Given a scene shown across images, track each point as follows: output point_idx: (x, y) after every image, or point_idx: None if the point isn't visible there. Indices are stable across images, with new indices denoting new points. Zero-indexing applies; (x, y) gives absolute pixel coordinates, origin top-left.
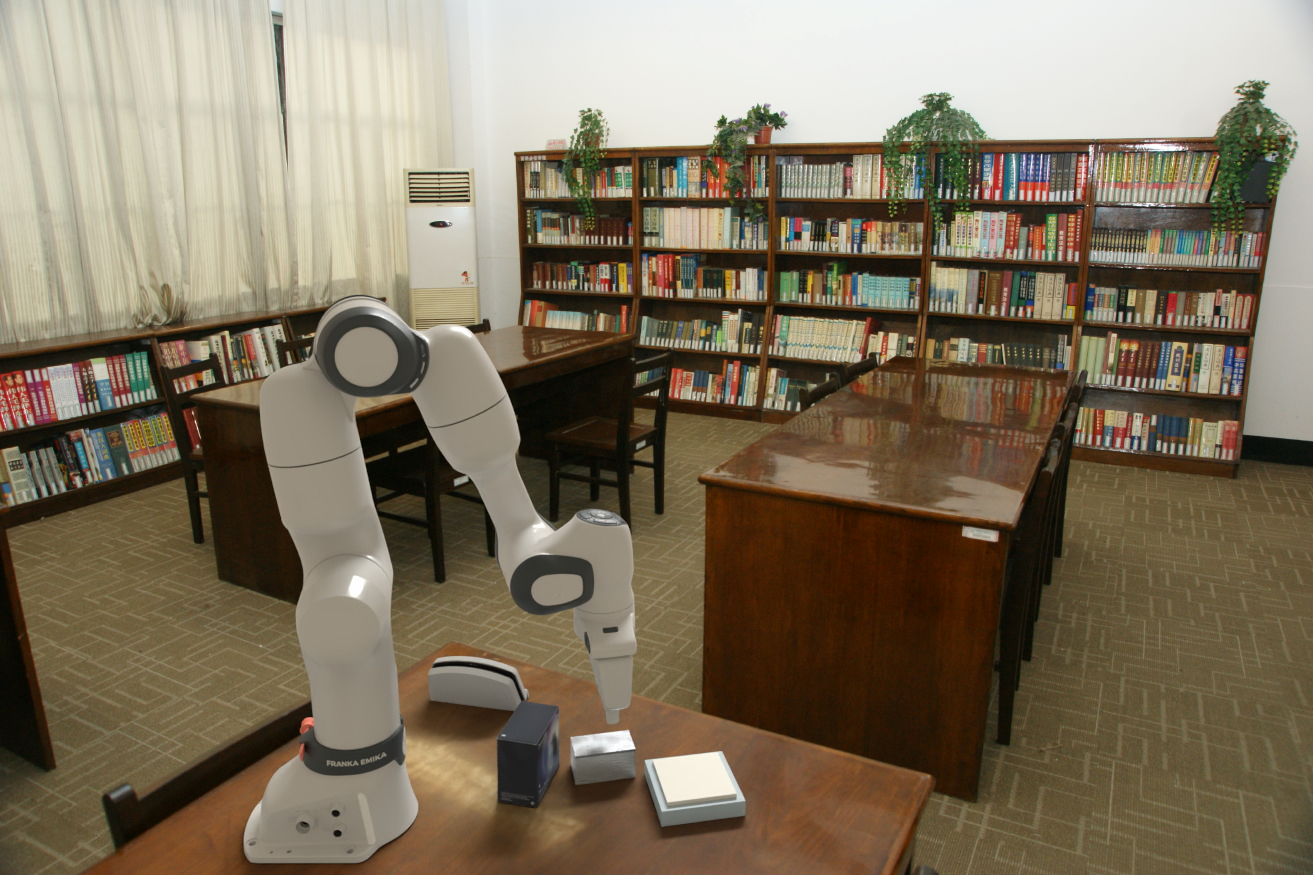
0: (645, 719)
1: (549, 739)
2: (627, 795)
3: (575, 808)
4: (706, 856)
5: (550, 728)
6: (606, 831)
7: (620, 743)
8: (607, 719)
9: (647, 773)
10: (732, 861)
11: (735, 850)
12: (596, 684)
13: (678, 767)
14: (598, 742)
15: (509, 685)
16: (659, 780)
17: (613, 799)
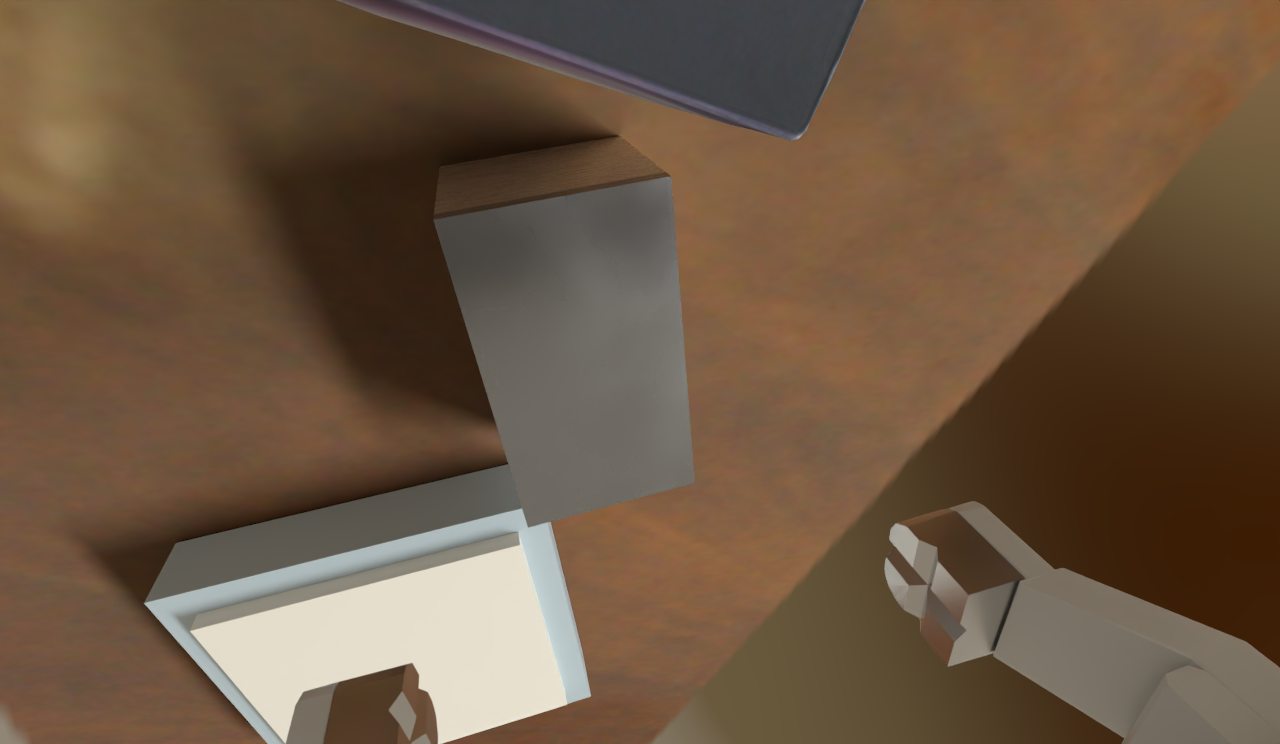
0: (875, 432)
1: (339, 1)
2: (377, 409)
3: (214, 171)
4: (32, 678)
5: (416, 19)
6: (49, 341)
7: (577, 461)
8: (290, 739)
9: (474, 503)
10: (39, 735)
11: (110, 733)
12: (951, 529)
13: (467, 626)
14: (593, 354)
15: None
16: (369, 579)
17: (337, 356)
